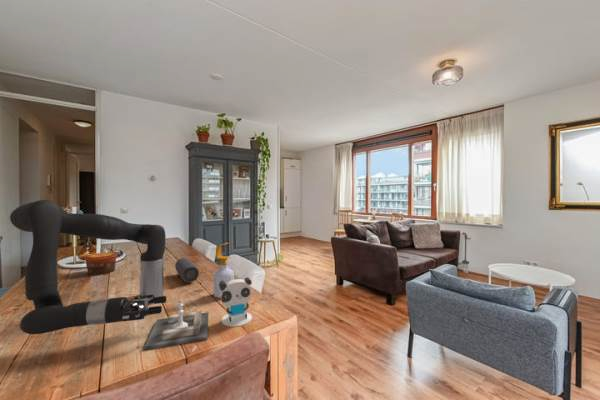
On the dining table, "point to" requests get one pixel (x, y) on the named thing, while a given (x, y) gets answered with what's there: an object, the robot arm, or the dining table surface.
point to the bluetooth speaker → (186, 270)
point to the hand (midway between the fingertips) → (163, 304)
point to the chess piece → (180, 317)
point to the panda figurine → (236, 301)
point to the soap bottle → (221, 272)
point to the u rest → (178, 330)
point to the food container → (100, 263)
